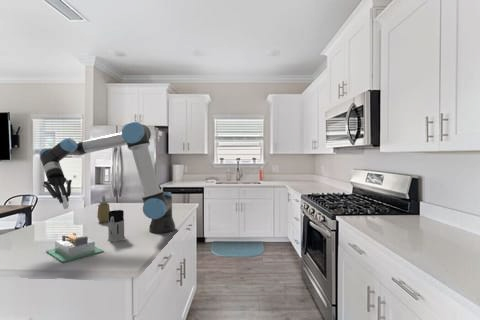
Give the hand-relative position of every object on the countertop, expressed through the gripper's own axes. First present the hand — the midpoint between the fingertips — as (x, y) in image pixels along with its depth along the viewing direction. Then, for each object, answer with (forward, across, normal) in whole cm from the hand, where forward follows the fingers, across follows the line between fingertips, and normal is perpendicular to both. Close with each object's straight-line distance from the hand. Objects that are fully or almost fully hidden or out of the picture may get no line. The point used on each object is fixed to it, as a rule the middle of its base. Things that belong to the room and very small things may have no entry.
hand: (66, 207), depth 136 cm
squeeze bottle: (-15, -36, -43) cm, 59 cm away
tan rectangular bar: (+17, 0, -4) cm, 17 cm away
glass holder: (+20, -20, -9) cm, 30 cm away
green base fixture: (+21, 0, -7) cm, 22 cm away
